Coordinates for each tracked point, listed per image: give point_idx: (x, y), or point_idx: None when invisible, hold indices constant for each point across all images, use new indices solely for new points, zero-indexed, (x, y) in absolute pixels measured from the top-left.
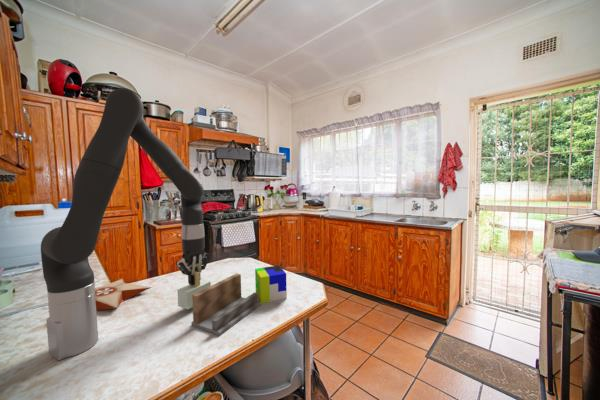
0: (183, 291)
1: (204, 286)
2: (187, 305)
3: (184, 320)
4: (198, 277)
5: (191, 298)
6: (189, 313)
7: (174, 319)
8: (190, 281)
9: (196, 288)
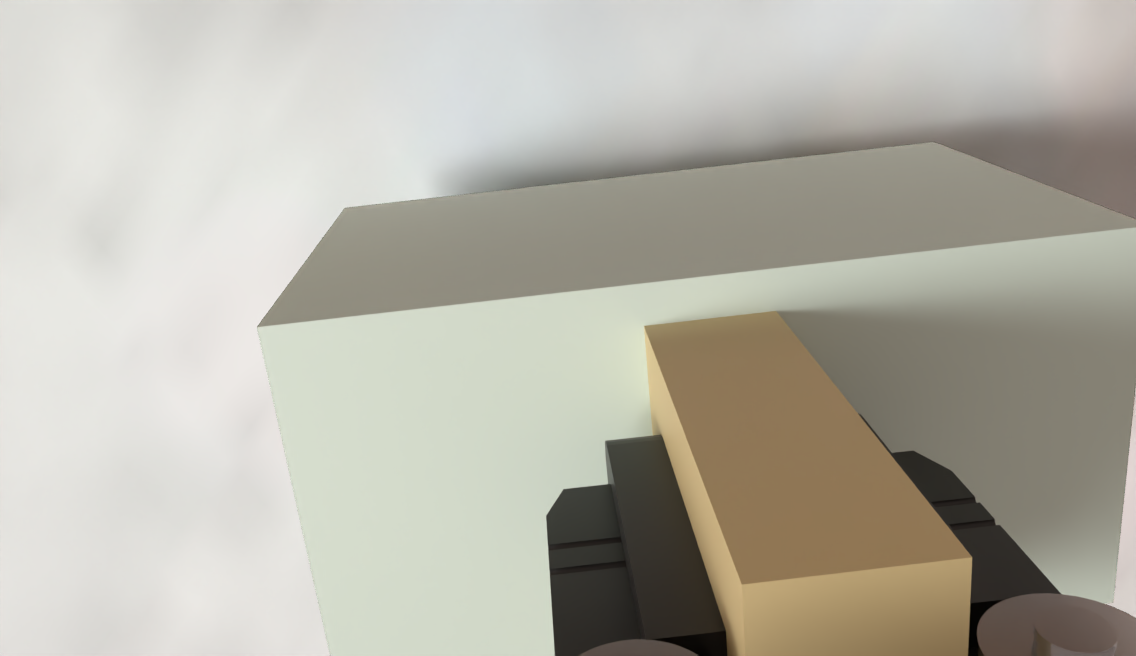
0: (1129, 376)
1: (508, 279)
2: (969, 157)
3: (1040, 3)
4: (773, 447)
5: (912, 188)
6: (844, 148)
7: (1083, 186)
8: (978, 515)
9: (813, 261)
